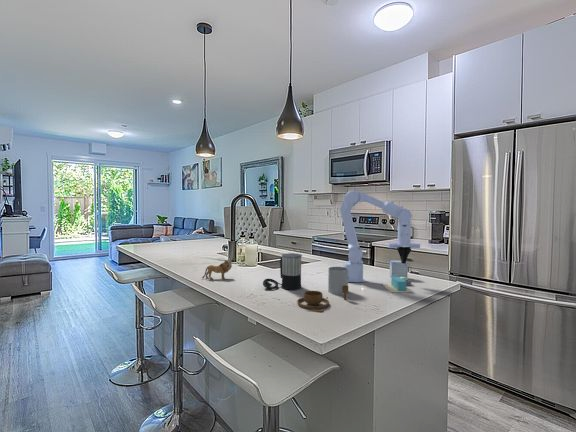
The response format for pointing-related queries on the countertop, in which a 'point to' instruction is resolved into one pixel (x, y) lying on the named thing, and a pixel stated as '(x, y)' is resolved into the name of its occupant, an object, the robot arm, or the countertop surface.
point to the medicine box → (398, 269)
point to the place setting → (317, 299)
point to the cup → (337, 279)
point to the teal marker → (398, 283)
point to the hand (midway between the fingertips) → (403, 263)
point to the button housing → (408, 282)
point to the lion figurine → (218, 269)
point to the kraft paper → (394, 289)
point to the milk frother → (288, 272)
